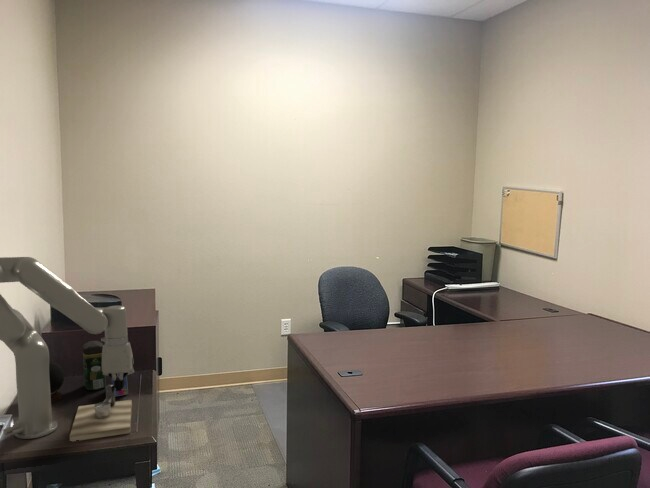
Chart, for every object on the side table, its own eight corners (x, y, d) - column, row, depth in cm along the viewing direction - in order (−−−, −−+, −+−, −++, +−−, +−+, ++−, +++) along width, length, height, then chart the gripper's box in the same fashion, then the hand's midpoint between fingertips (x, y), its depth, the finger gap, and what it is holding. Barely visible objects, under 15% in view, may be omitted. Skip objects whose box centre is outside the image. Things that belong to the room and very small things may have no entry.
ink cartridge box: (110, 388, 209) (109, 353, 207) (125, 386, 211) (124, 351, 210) (113, 397, 200) (111, 361, 198) (128, 394, 202) (126, 358, 201)
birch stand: (130, 433, 170) (130, 426, 170) (69, 441, 164) (69, 435, 164) (131, 404, 193) (131, 399, 192) (78, 411, 187) (78, 405, 187)
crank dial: (108, 418, 176) (107, 397, 175) (93, 419, 176) (92, 398, 175) (119, 402, 189) (118, 383, 188) (104, 403, 188) (103, 384, 188)
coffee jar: (83, 384, 213) (81, 340, 211) (104, 381, 217) (102, 338, 215) (85, 392, 205) (83, 347, 203) (107, 388, 208) (104, 344, 207)
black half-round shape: (22, 399, 198) (20, 361, 197) (60, 390, 207) (57, 354, 206) (31, 409, 189) (28, 370, 187) (69, 400, 197) (67, 362, 196)
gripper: (91, 344, 180) (94, 395, 182) (135, 342, 182) (138, 392, 184) (98, 338, 188) (101, 387, 190) (140, 336, 190) (143, 384, 192)
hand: (119, 389), depth 187 cm, fingers closed
